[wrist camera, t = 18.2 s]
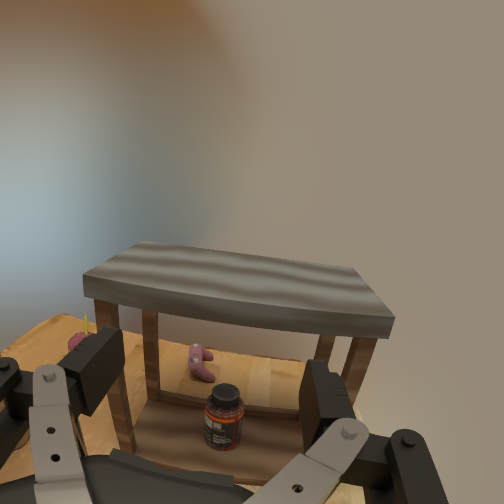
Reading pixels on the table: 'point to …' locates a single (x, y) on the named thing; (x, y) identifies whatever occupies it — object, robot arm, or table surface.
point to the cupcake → (78, 336)
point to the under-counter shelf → (187, 415)
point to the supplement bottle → (223, 417)
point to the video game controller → (200, 362)
